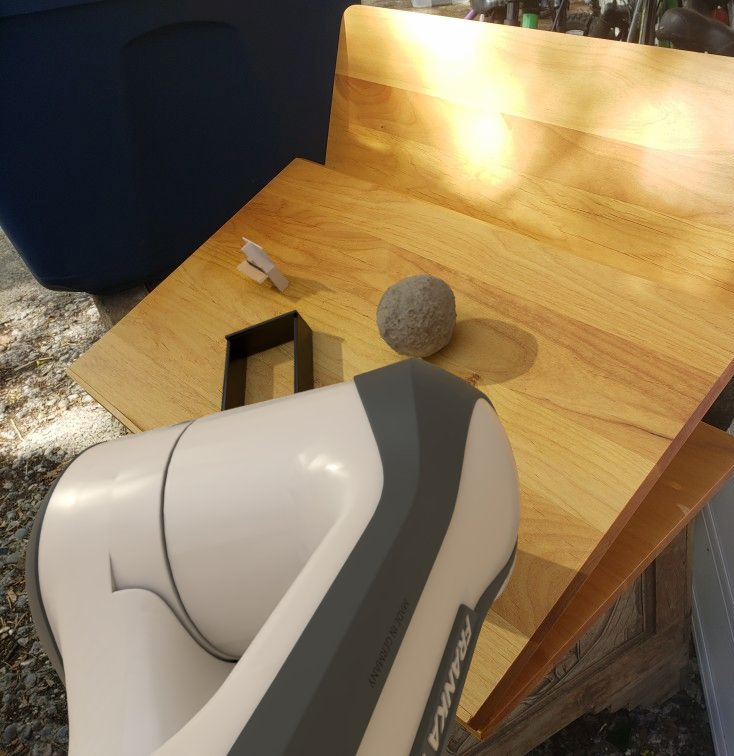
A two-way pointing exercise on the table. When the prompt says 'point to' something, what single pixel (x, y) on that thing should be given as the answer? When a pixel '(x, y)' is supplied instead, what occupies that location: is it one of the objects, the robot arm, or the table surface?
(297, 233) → the table surface
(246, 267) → the architectural model
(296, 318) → the frame
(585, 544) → the table surface
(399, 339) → the decorative stone
